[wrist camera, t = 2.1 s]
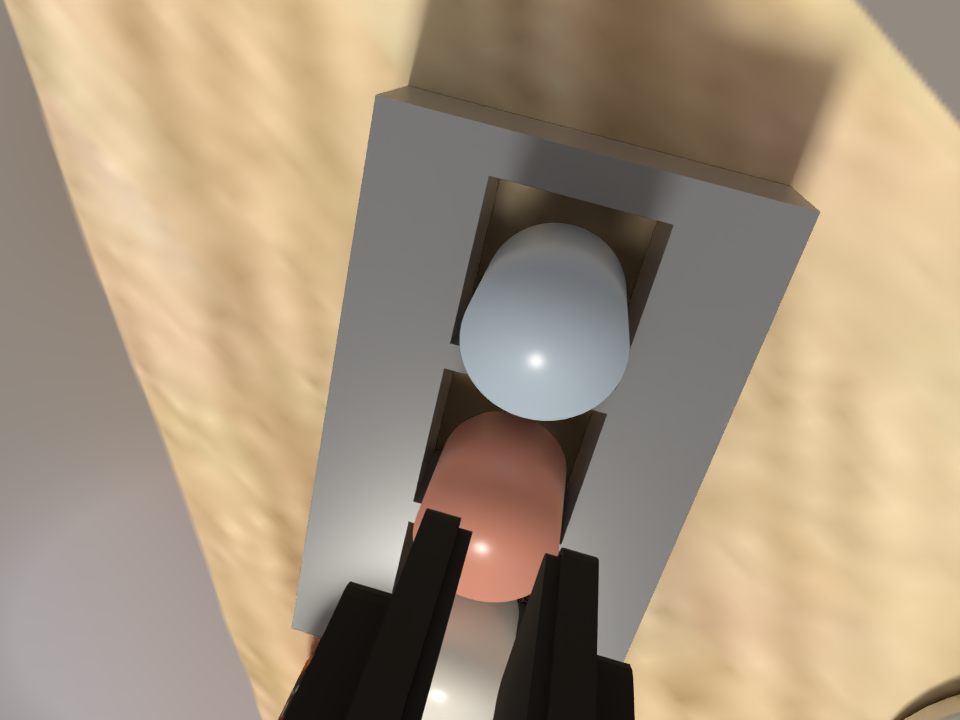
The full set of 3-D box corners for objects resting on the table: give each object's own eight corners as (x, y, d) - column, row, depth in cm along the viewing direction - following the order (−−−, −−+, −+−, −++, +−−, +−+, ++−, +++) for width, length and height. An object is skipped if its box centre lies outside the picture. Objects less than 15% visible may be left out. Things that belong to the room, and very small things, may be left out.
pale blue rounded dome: (645, 244, 23) (653, 290, 19) (602, 372, 25) (600, 439, 21) (502, 205, 23) (480, 243, 19) (470, 336, 25) (444, 395, 21)
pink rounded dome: (582, 432, 26) (576, 506, 22) (547, 533, 28) (537, 618, 24) (456, 396, 26) (428, 463, 22) (430, 499, 28) (400, 578, 24)
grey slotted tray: (791, 186, 26) (820, 212, 22) (598, 650, 36) (597, 720, 32) (407, 85, 27) (375, 94, 23) (322, 568, 36) (291, 628, 33)
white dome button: (531, 580, 29) (518, 670, 25) (503, 663, 31) (487, 758, 27) (419, 547, 29) (388, 630, 25) (398, 631, 31) (367, 721, 27)
